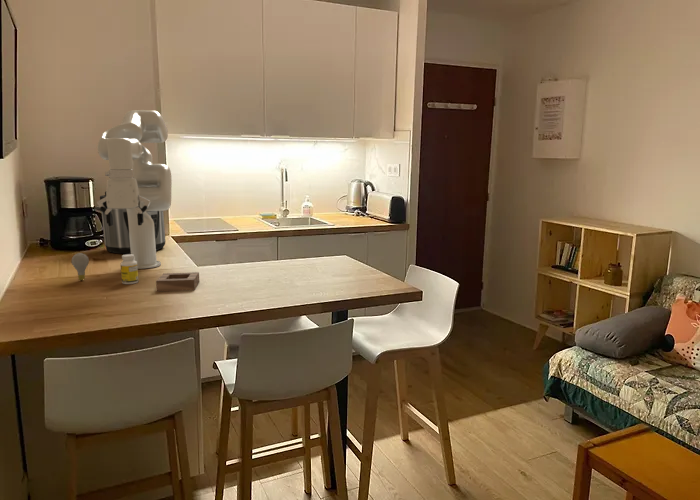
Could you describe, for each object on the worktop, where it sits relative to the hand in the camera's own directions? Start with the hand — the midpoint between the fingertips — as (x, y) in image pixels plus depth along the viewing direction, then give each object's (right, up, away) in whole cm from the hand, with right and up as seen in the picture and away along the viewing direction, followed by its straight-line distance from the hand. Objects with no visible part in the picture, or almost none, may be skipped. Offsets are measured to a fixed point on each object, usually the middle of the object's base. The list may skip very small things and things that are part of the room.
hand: (125, 225), depth 190 cm
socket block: (+19, -21, -3) cm, 28 cm away
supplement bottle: (0, -20, +4) cm, 20 cm away
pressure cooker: (-24, -9, +72) cm, 76 cm away
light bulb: (-18, -20, +7) cm, 28 cm away
